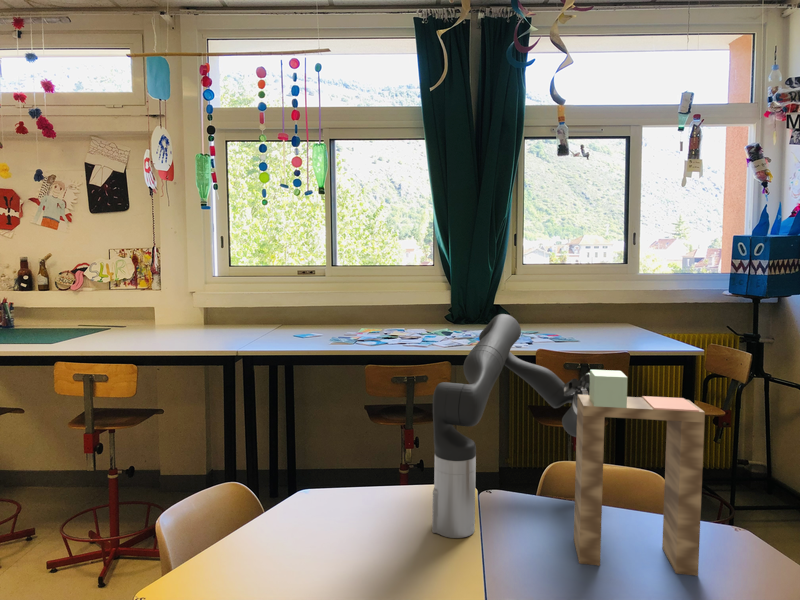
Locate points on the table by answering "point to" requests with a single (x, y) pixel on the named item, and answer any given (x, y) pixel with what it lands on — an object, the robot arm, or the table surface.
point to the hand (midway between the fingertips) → (599, 378)
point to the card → (669, 403)
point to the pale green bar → (608, 388)
